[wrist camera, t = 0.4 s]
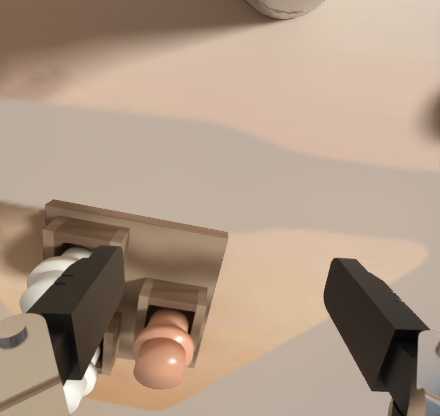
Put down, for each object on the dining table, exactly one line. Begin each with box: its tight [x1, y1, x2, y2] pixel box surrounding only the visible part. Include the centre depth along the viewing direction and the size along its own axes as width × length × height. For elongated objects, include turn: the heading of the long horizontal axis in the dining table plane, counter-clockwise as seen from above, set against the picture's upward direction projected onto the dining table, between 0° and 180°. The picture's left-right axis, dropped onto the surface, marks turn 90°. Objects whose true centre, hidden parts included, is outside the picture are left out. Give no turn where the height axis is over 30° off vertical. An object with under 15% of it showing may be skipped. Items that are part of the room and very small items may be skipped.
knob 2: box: [63, 346, 100, 413], centre depth 29 cm, size 6×6×6 cm
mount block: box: [42, 200, 228, 375], centre depth 31 cm, size 21×19×4 cm
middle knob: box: [132, 309, 194, 389], centre depth 27 cm, size 6×6×6 cm
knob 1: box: [20, 247, 94, 314], centre depth 24 cm, size 6×6×6 cm
